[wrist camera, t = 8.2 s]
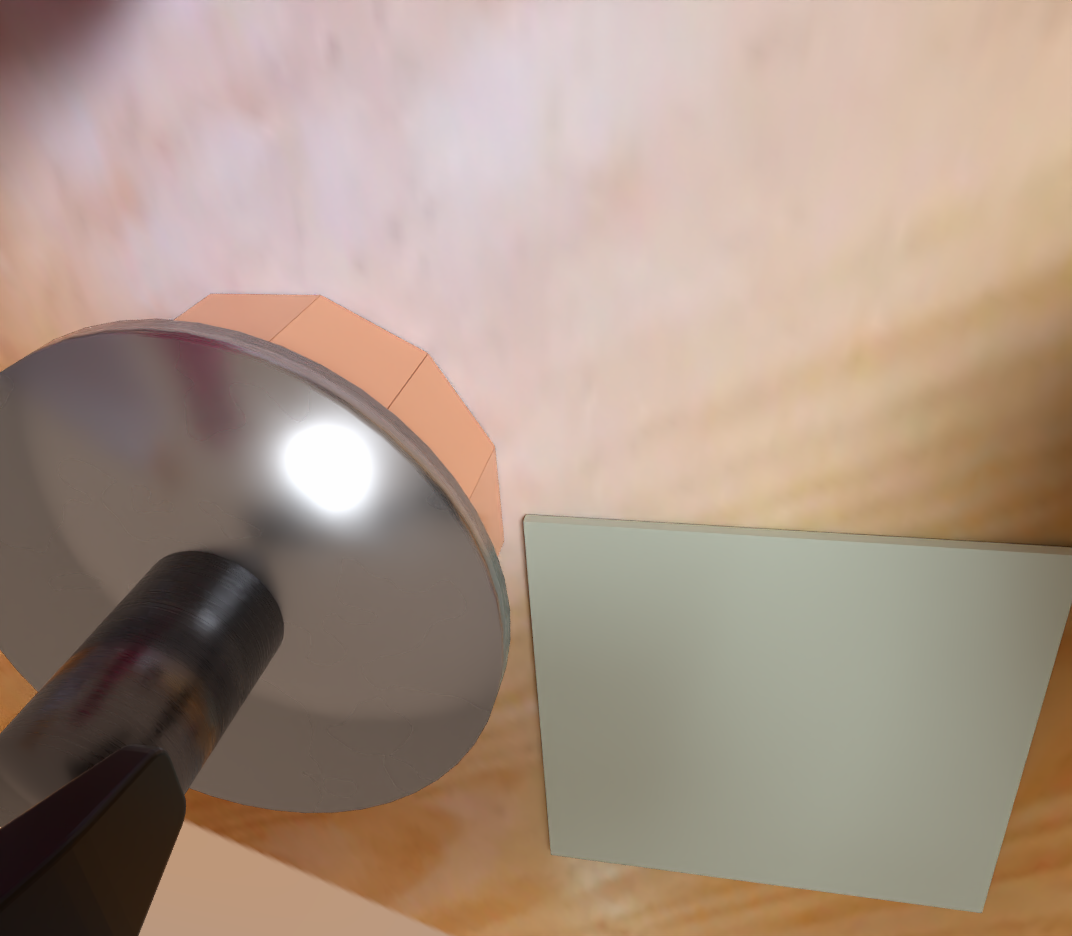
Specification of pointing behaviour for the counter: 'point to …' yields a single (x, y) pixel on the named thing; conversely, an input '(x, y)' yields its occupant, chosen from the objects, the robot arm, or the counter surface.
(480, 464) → the bowl
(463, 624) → the lid
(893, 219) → the counter surface
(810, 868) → the mat
